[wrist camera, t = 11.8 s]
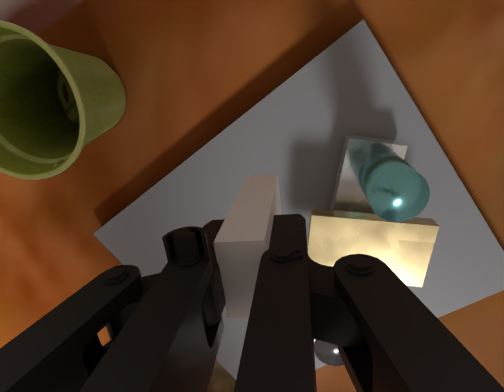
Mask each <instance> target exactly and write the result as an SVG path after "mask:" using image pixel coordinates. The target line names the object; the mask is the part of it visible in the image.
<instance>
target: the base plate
mask: <svg viewBox="0 0 504 392" xmlns="http://www.w3.org/2000/svg"><path fill="white" fill-rule="evenodd" d="M346 134H349V135H357V136H365V137H372V138H380V139H388V140H396V141H401V142H403V143H404V144H406V145H407V146H408V147H407V151H406V154H405V157H404V161H406V162H407V163H408V164H409V165H410V166H411V167H412V168H414V169H415V170H416V171H417V172H418V173H419V174H421V175H422V176H423V177H424V178H425V180H426V181H427V183H428V185H429V189H430V197H429V201H428V203H427V205H426V207H425V208H424V210H423V211H422V212H421V213H420V214H418V215H417V216H416V217H419V218H431V219H433V220H434V221H435V222H436V223H437V224H438V225H439V229H438V233H437V236H436V240H435V243H434V247H433V250H432V254H431V257H430V261H429V264H428V268H427V271H426V275H425V278H424V282H423V285H422V287H415V286H407V287H408V288H409V289H410V290H411V291H412V292H413V293H414V294H415V295H416V296H417V297H418V298H419V299H420V300H421V301H422V303H423V304H424V305H425V306H426V307H427V308H428V309H429V310H430V311H431V312H432V313H433V314H434V315H435V316H436V317H437V318H439V317H441V316H443V315H446V314H448V313H450V312H453V311H455V310H458V309H460V308H462V307H465V306H467V305H469V304H472V303H474V302H476V301H479V300H481V299H483V298H486V297H488V296H491V295H493V294H495V293H498V292H500V291H502V290H504V251H503V249H502V248H501V246H500V244H499V243H498V241H497V239H496V238H495V236H494V234H493V233H492V231H491V230H490V228H489V226H488V225H487V223H486V221H485V220H484V218H483V216H482V215H481V213H480V211H479V210H478V208H477V206H476V205H475V203H474V201H473V200H472V198H471V196H470V195H469V193H468V191H467V190H466V188H465V186H464V185H463V183H462V181H461V180H460V178H459V177H458V175H457V173H456V172H455V170H454V168H453V167H452V165H451V163H450V162H449V160H448V158H447V157H446V155H445V153H444V152H443V150H442V148H441V147H440V145H439V143H438V142H437V140H436V138H435V137H434V135H433V133H432V132H431V130H430V128H429V127H428V125H427V124H426V122H425V120H424V119H423V117H422V115H421V114H420V112H419V110H418V109H417V107H416V105H415V104H414V102H413V100H412V99H411V97H410V95H409V94H408V92H407V90H406V89H405V87H404V85H403V84H402V82H401V80H400V79H399V77H398V75H397V74H396V72H395V71H394V69H393V67H392V66H391V64H390V62H389V61H388V59H387V57H386V56H385V54H384V52H383V51H382V49H381V47H380V46H379V44H378V42H377V41H376V39H375V37H374V36H373V34H372V32H371V31H370V29H369V27H368V26H367V24H366V22H365V21H364V19H363V20H362V21H360V22H359V23H358V24H356V25H355V26H354V27H353V28H351V29H350V30H349V31H348V32H346V33H345V34H344V35H342V36H341V37H340V38H339V39H337V40H336V41H335V42H334V43H332V44H331V45H330V46H329V47H327V48H326V49H325V50H324V51H322V52H321V53H320V54H319V55H317V56H316V57H315V58H314V59H312V60H311V61H310V62H308V63H307V64H306V65H305V66H303V67H302V68H301V69H300V70H298V71H297V72H296V73H295V74H293V75H292V76H291V77H290V78H288V79H287V80H286V81H285V82H283V83H282V84H281V85H280V86H278V87H277V88H276V89H275V90H273V91H272V92H271V93H269V94H268V95H267V96H266V97H264V98H263V99H262V100H261V101H259V102H258V103H257V104H256V105H254V106H253V107H252V108H251V109H249V110H248V111H247V112H246V113H244V114H243V115H242V116H241V117H239V118H238V119H237V120H235V121H234V122H233V123H232V124H230V125H229V126H228V127H227V128H225V129H224V130H223V131H222V132H220V133H219V134H218V135H217V136H215V137H214V138H213V139H212V140H210V141H209V142H208V143H207V144H205V145H204V146H203V147H202V148H200V149H199V150H198V151H196V152H195V153H194V154H193V155H191V156H190V157H189V158H188V159H186V160H185V161H184V162H183V163H181V164H180V165H179V166H178V167H176V168H175V169H174V170H173V171H171V172H170V173H169V174H168V175H166V176H165V177H164V178H162V179H161V180H160V181H159V182H157V183H156V184H155V185H154V186H152V187H151V188H150V189H149V190H147V191H146V192H145V193H144V194H142V195H141V196H140V197H139V198H137V199H136V200H135V201H134V202H132V203H131V204H130V205H129V206H127V207H126V208H125V209H123V210H122V211H121V212H120V213H118V214H117V215H116V216H115V217H113V218H112V219H111V220H110V221H108V222H107V223H106V224H105V225H103V226H102V227H101V228H100V229H98V230H97V231H96V232H95V233H94V234H93V235H94V236H95V237H96V238H97V239H98V240H99V241H100V242H101V243H102V244H103V245H104V246H105V247H106V248H107V249H108V250H109V251H110V252H111V253H112V254H113V255H114V256H115V257H116V258H117V259H118V260H119V261H120V262H121V263H122V264H123V265H134V266H137V267H138V268H139V269H140V272H141V276H142V277H144V276H148V275H152V274H157V273H161V271H162V270H163V268H164V267H165V265H166V264H167V262H168V260H167V256H166V252H165V248H164V244H163V240H162V237H163V236H164V235H165V234H167V233H168V232H170V231H173V230H175V229H178V228H182V227H188V226H198V227H201V228H203V226H204V225H206V224H207V223H208V222H210V221H211V220H220V219H225V218H226V216H227V214H228V212H229V210H230V208H231V206H232V204H233V202H234V200H235V198H236V196H237V194H238V192H239V190H240V188H241V186H242V184H243V182H244V180H245V178H246V176H253V175H265V174H277V173H278V183H279V193H280V202H281V212H282V215H284V214H301V215H302V216H303V217H304V218H305V219H306V232H307V239H308V230H309V222H310V213H311V208H313V209H324V210H329V209H330V204H331V200H332V195H333V191H334V186H335V181H336V177H337V172H338V168H339V163H340V158H341V154H342V149H343V145H344V140H345V135H346ZM222 318H223V323H224V331H223V335H222V338H221V342H220V345H219V349H218V352H217V356H216V360H217V361H218V362H219V363H220V364H221V365H222V366H223V367H224V369H225V370H226V371H227V372H228V373H229V374H230V375H231V376H232V377H233V378H234V379H235V380H236V379H237V374H238V369H239V364H240V359H241V354H242V349H243V344H244V339H245V334H246V329H247V324H248V319H249V318H227V313H226V307H225V306H224V309H223V313H222ZM314 354H315V352H314ZM325 365H327V364H325V363H323V362H321V361H320V360H319V359H318V358H317V357H316V355H315V370H316V369H318V368H321V367H323V366H325Z"/></svg>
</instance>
